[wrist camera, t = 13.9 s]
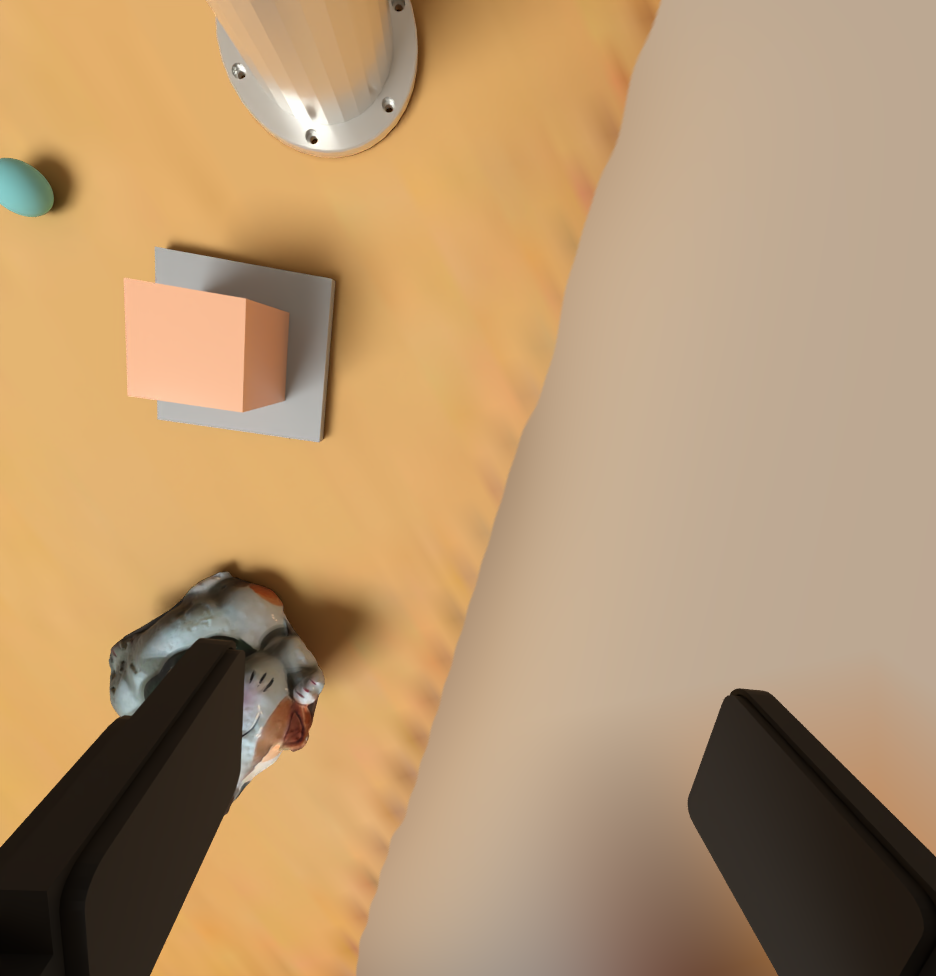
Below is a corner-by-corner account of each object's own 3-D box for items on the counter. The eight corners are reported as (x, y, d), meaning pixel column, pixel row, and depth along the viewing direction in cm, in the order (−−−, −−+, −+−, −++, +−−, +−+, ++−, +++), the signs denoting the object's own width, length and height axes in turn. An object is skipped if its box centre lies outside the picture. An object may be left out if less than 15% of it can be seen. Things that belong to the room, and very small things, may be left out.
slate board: (164, 250, 33) (154, 246, 32) (335, 281, 34) (331, 278, 33) (166, 417, 36) (157, 419, 35) (323, 439, 37) (319, 442, 36)
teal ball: (13, 165, 31) (-34, 143, 28) (64, 175, 31) (24, 155, 28) (17, 217, 32) (-28, 202, 28) (67, 227, 32) (28, 212, 29)
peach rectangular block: (197, 297, 33) (123, 277, 25) (289, 312, 33) (245, 298, 26) (196, 387, 34) (127, 395, 26) (284, 401, 35) (242, 412, 27)
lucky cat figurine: (256, 545, 39) (286, 669, 29) (323, 621, 47) (365, 741, 36) (76, 646, 36) (36, 829, 25) (179, 711, 43) (181, 871, 33)
